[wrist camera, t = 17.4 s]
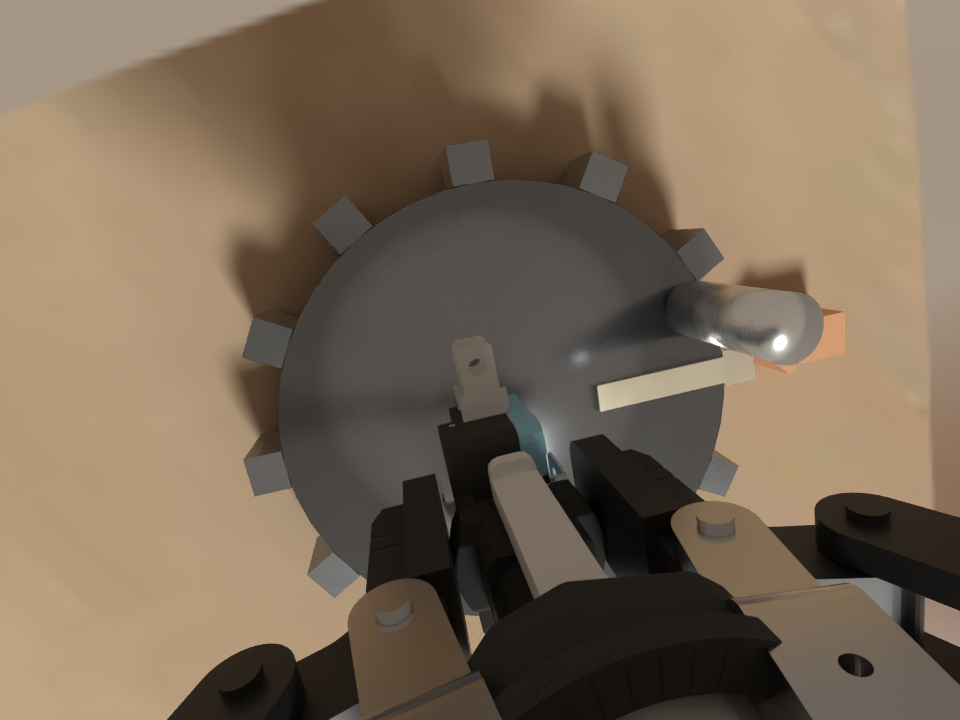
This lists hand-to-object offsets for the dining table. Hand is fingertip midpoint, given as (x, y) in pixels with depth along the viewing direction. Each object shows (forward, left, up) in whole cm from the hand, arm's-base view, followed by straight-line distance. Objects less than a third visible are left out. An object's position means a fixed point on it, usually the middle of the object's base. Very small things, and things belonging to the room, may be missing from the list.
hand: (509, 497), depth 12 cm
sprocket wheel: (+1, 0, -6) cm, 6 cm away
